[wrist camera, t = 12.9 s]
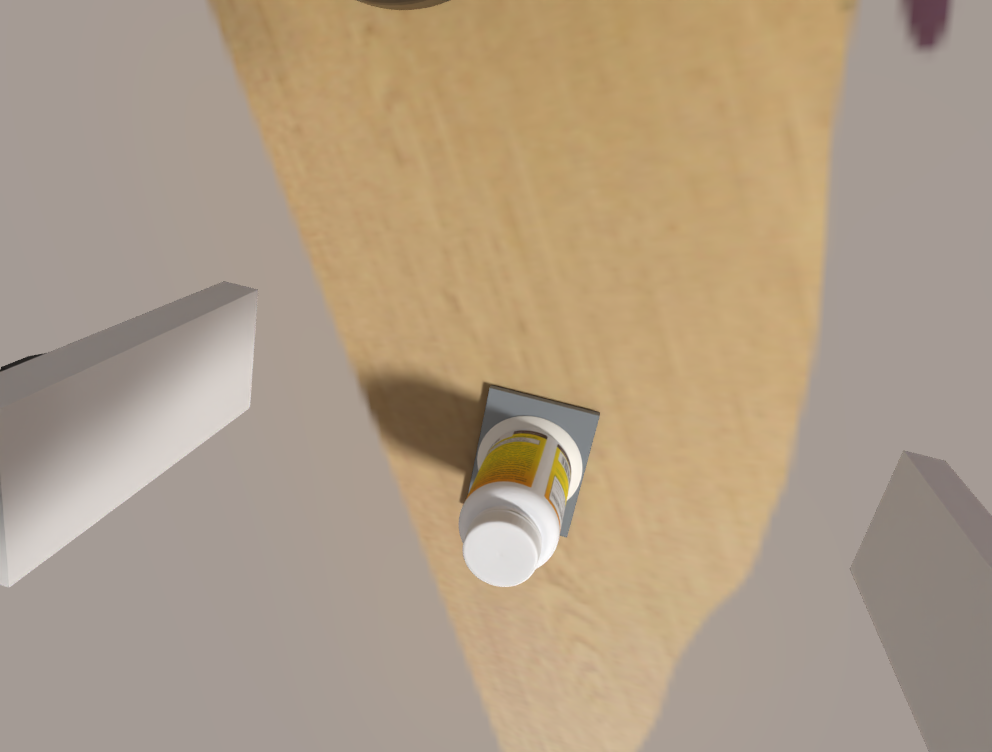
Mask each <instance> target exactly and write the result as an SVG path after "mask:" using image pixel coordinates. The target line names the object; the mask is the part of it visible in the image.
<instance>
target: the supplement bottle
mask: <svg viewBox="0 0 992 752" xmlns="http://www.w3.org/2000/svg"><path fill="white" fill-rule="evenodd" d="M570 481H571V463H570V459H569V457H568V455H567V452H566V451H565V449H564V448H563V446H562V445H561V444H560V443H559V442H558V441H557V440H556V439H554V438H553V437H552V436H550V435H548V434H546V433H544V432H542V431H538V430H534V429H516V430H512V431H509V432H507V433H505V434H503V435H502V436H500V437H499V438H498V439H497V440H496V441H495V442H494V443H493V444H492V445H491V447H490V449H489V450H488V452H487V454H486V457H485V459H484V461H483V463H482V465H481V467H480V469H479V472H478V474H477V476H476V478H475V480H474V482H473V485H472V487H471V489H470V491H469V494H468V496H467V498H466V500H465V502H464V504H463V507H462V509H461V513H460V517H459V532H460V536H461V539H462V542H463V557H464V560H465V562H466V564H467V566H468V568H469V569H470V570H471V572H472V573H473V574H474V575H475V576H476V577H478V578H479V579H480V580H482V581H484V582H486V583H488V584H491V585H494V586H499V587H510V586H515V585H518V584H520V583H522V582H524V581H526V580H527V579H528V578H529V577H530V576H531V575H532V574H533V572H534V571H535V569H536V568H538V567H540V566H541V565H543V564H544V563H545V562H546V561H547V560H548V559H549V558H550V557H551V556H552V554H553V553H554V551H555V549H556V546H557V544H558V540H559V536H560V531H561V526H562V521H563V516H564V511H565V506H566V501H567V496H568V491H569V486H570Z"/></svg>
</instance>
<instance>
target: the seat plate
mask: <svg viewBox="0 0 992 752" xmlns="http://www.w3.org/2000/svg"><path fill="white" fill-rule="evenodd" d="M599 416H600V413H599V412H595V411H591V410H587V409H583V408H579V407H575V406H571V405H567V404H564V403H560V402H556V401H552V400H548V399H544V398H540V397H536V396H532V395H528V394H524V393H520V392H517V391H513V390H509V389H505V388H501V387H497V386H493V385H491V386H490V389H489V394H488V399H487V403H486V408H485V413H484V418H483V423H482V428H481V433H480V438H479V443H478V448H477V453H476V458H475V463H474V468H473V472H472V477H471V482H470V487H469V491H470V489H471V487H472V485H473V482H474V480H475V478H476V476H477V474H478V472H479V469H480V467H481V465H482V463H483V461H484V459H485V457H486V454H487V452H488V450H489V449H490V447H491V445H492V444H493V443H494V442H495V441H496V440H497V439H498V438H499V437H500V436H502V435H503V434H505V433H507V432H509V431H512V430H516V429H534V430H538V431H542V432H544V433H546V434H548V435H550V436H552V437H553V438H554V439H556V440H557V441H558V442H559V443H560V444H561V445H562V446H563V448H564V449H565V451H566V452H567V455H568V457H569V459H570V463H571V481H570V486H569V491H568V496H567V501H566V506H565V511H564V516H563V521H562V526H561V531H560V536H564V537H567V535H568V531H569V528H570V524H571V520H572V516H573V513H574V509H575V505H576V502H577V498H578V494H579V490H580V487H581V483H582V479H583V476H584V472H585V468H586V464H587V461H588V457H589V453H590V450H591V446H592V442H593V438H594V435H595V431H596V427H597V424H598V420H599ZM468 494H469V492H468Z"/></svg>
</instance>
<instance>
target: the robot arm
mask: <svg viewBox="0 0 992 752" xmlns="http://www.w3.org/2000/svg"><path fill="white" fill-rule="evenodd" d="M357 1H359V2H362V3H365V4H368V5H371V6H375V7H380V8H385V9H394V10H413V9H421V8H427V7H431V6H435V5H438V4H441V3H444V2H447V1H449V0H357ZM257 296H258V289H253V288H249V287H245V286H241V285H237V284H233V283H229V282H225V281H223V282H221V283H219V284H216V285H214V286H211V287H209V288H206V289H204V290H201V291H199V292H196V293H194V294H191V295H189V296H186V297H184V298H182V299H179V300H177V301H174V302H172V303H169V304H167V305H164V306H162V307H159V308H157V309H154V310H152V311H149V312H147V313H145V314H142V315H140V316H137V317H135V318H132V319H130V320H127V321H125V322H122V323H120V324H117V325H115V326H112V327H110V328H108V329H105V330H103V331H100V332H98V333H95V334H93V335H90V336H88V337H85V338H83V339H80V340H78V341H76V342H73V343H70V344H68V345H66V346H63V347H61V348H58V349H56V350H53V351H51V352H48V353H44V354H39V355H34V356H28V357H26V358H23V359H21V360H18V361H15V362H13V363H10V364H8V365H5V366H3V367H1V370H0V585H3V586H6V587H10V586H12V585H13V584H14V583H15V582H17V581H18V580H20V579H21V578H22V577H24V576H25V575H26V574H28V573H29V572H30V571H32V570H33V569H34V568H36V567H37V566H39V565H40V564H41V563H43V562H44V561H45V560H46V559H48V558H49V557H51V556H52V555H53V554H55V553H56V552H57V551H59V550H60V549H61V548H63V547H64V546H65V545H67V544H68V543H69V542H70V541H72V540H73V539H74V538H76V537H77V536H79V535H80V534H81V533H83V532H84V531H85V530H87V529H88V528H89V527H91V526H92V525H93V524H95V523H96V522H97V521H99V520H100V519H101V518H103V517H104V516H105V515H107V514H108V513H109V512H111V511H112V510H114V509H115V508H116V507H117V506H119V505H120V504H122V503H123V502H124V501H126V500H127V499H128V498H129V497H131V496H132V495H134V494H135V493H136V492H137V491H139V490H140V489H142V488H143V487H144V486H146V485H147V484H148V483H150V482H151V481H152V480H154V479H155V478H156V477H158V476H159V475H160V474H162V473H163V472H164V471H165V470H167V469H168V468H170V467H171V466H172V465H174V464H175V463H176V462H178V461H179V460H180V459H182V458H183V457H184V456H186V455H187V454H188V453H190V452H191V451H192V450H194V449H195V448H196V447H198V446H199V445H201V444H202V443H203V442H205V441H206V440H207V439H208V438H210V437H211V436H213V435H214V434H215V433H217V432H218V431H219V430H221V429H222V428H223V427H225V426H226V425H227V424H229V423H230V422H231V421H233V420H234V419H235V418H237V417H238V416H239V415H241V414H242V413H243V412H245V411H246V410H247V409H249V408H250V399H251V384H252V370H253V355H254V340H255V326H256V311H257ZM850 571H851V573H852V575H853V577H854V580H855V582H856V584H857V587H858V589H859V591H860V594H861V596H862V598H863V601H864V603H865V605H866V608H867V610H868V612H869V615H870V617H871V619H872V621H873V624H874V626H875V628H876V631H877V633H878V635H879V638H880V640H881V642H882V644H883V647H884V649H885V651H886V654H887V656H888V658H889V661H890V663H891V665H892V668H893V670H894V672H895V674H896V677H897V679H898V681H899V684H900V686H901V688H902V691H903V693H904V695H905V698H906V700H907V702H908V704H909V707H910V709H911V711H912V714H913V716H914V718H915V720H916V723H917V725H918V728H919V730H920V732H921V735H922V737H923V739H924V741H925V744H926V746H927V748H928V751H929V752H992V516H991V515H990V513H989V512H988V511H987V510H986V509H985V507H984V506H983V505H982V504H981V503H980V501H979V500H978V499H977V498H976V497H975V496H974V494H973V493H972V492H971V491H970V489H969V488H968V487H967V486H966V485H965V484H964V482H963V481H962V480H961V479H960V478H959V476H958V475H957V474H956V473H955V472H954V470H953V469H952V468H951V467H950V466H949V464H948V463H947V462H946V461H944V460H940V459H936V458H932V457H928V456H924V455H920V454H916V453H912V452H908V451H903V453H902V455H901V457H900V459H899V462H898V464H897V466H896V468H895V470H894V473H893V475H892V477H891V480H890V482H889V484H888V486H887V488H886V490H885V493H884V495H883V497H882V499H881V501H880V504H879V506H878V508H877V510H876V512H875V515H874V517H873V519H872V522H871V523H870V526H869V528H868V530H867V532H866V535H865V537H864V539H863V541H862V544H861V546H860V548H859V550H858V552H857V554H856V557H855V559H854V561H853V564H852V565H851V568H850Z"/></svg>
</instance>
